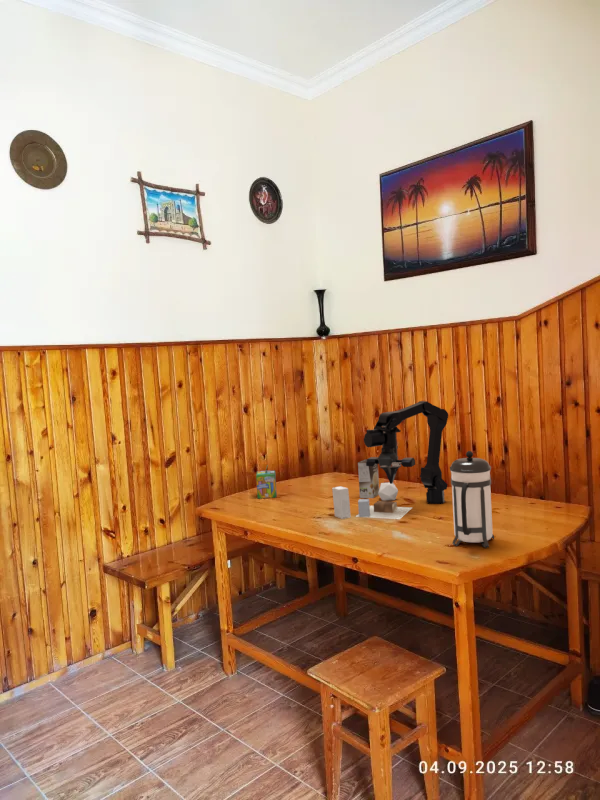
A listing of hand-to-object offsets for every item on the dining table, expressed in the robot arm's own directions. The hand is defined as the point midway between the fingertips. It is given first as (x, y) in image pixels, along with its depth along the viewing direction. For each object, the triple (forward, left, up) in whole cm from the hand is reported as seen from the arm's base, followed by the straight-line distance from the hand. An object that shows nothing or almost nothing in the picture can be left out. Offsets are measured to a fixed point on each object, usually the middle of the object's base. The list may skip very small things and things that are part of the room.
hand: (391, 483), depth 239 cm
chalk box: (+67, -17, -12) cm, 70 cm away
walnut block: (-1, 0, -10) cm, 10 cm away
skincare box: (+17, +12, -12) cm, 24 cm away
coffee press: (-37, +32, -12) cm, 50 cm away
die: (+8, -19, -12) cm, 24 cm away
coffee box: (+19, -26, -12) cm, 34 cm away
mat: (+3, +2, -12) cm, 12 cm away
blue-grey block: (+9, +8, -11) cm, 17 cm away
